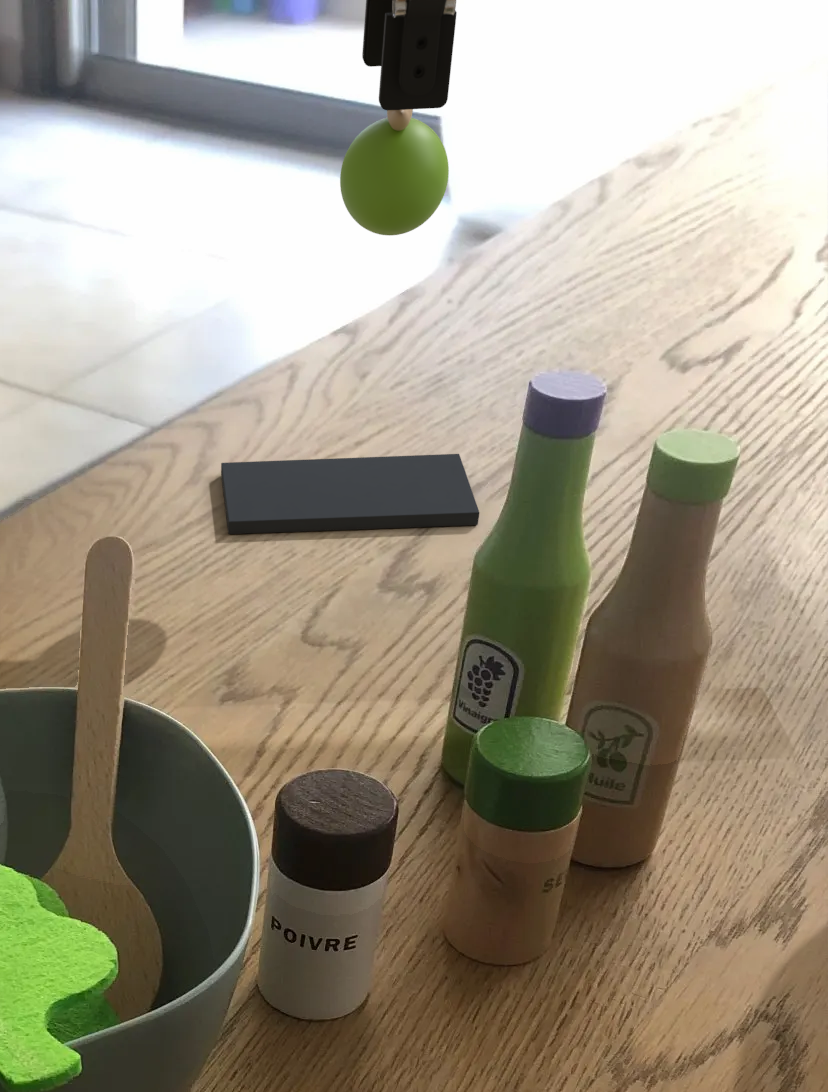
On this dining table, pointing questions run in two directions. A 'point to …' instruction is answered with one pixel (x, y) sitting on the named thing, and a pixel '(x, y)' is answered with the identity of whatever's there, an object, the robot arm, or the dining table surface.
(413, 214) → the snail figurine
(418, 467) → the mat
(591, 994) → the dining table surface
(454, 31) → the robot arm
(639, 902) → the dining table surface
